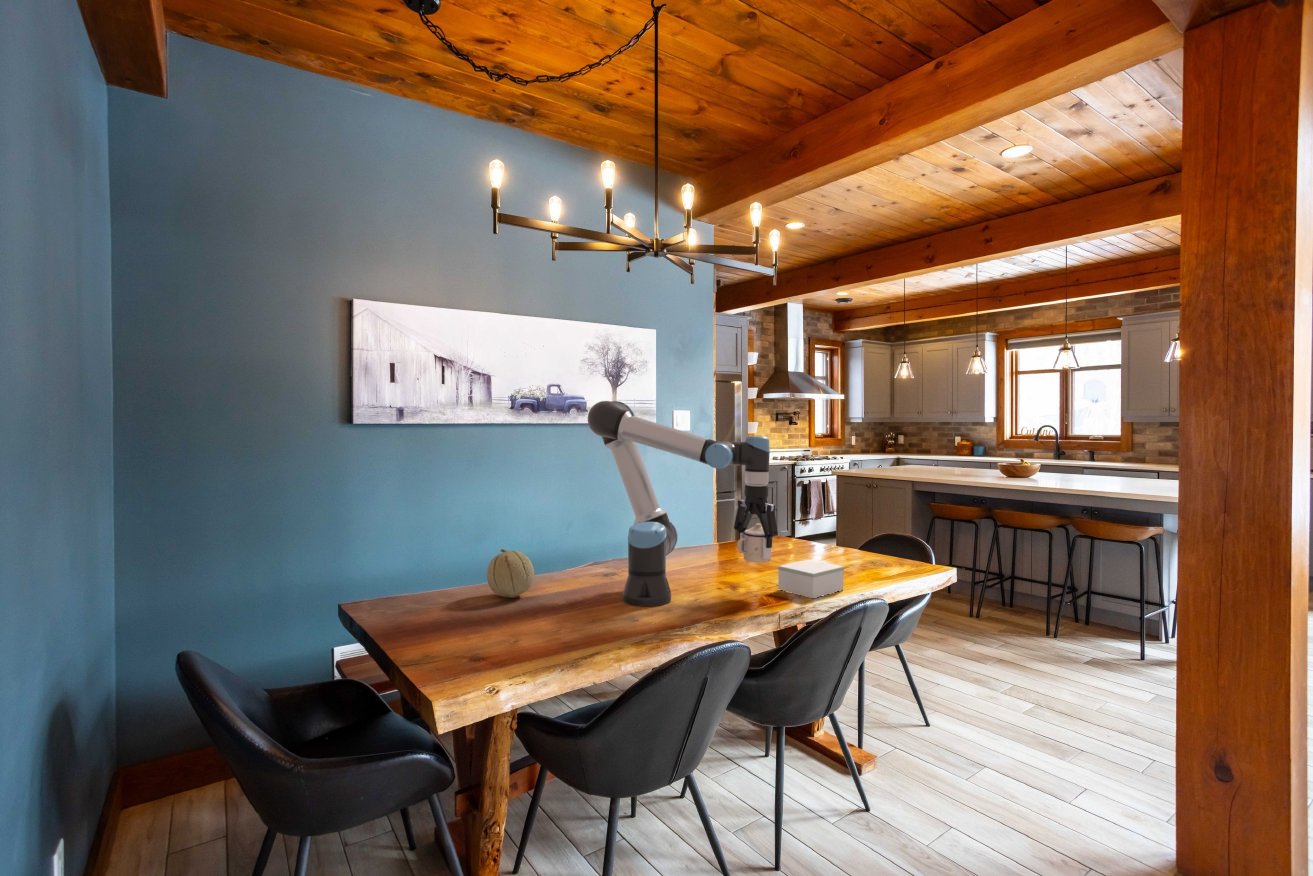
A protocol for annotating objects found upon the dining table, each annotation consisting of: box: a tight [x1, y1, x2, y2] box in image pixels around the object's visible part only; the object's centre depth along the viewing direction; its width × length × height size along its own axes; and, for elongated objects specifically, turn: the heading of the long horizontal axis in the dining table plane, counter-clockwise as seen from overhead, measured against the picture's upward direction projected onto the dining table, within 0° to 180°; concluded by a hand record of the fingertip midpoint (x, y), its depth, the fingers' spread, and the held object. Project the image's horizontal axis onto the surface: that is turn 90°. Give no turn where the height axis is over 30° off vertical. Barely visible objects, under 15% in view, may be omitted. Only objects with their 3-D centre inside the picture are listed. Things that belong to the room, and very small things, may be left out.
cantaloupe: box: [486, 548, 535, 599], centre depth 209 cm, size 15×15×15 cm
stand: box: [777, 558, 845, 599], centre depth 218 cm, size 14×16×8 cm
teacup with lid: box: [736, 522, 772, 564], centre depth 211 cm, size 12×9×12 cm
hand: (754, 555), depth 211 cm, fingers closed on teacup with lid, 9 cm apart
